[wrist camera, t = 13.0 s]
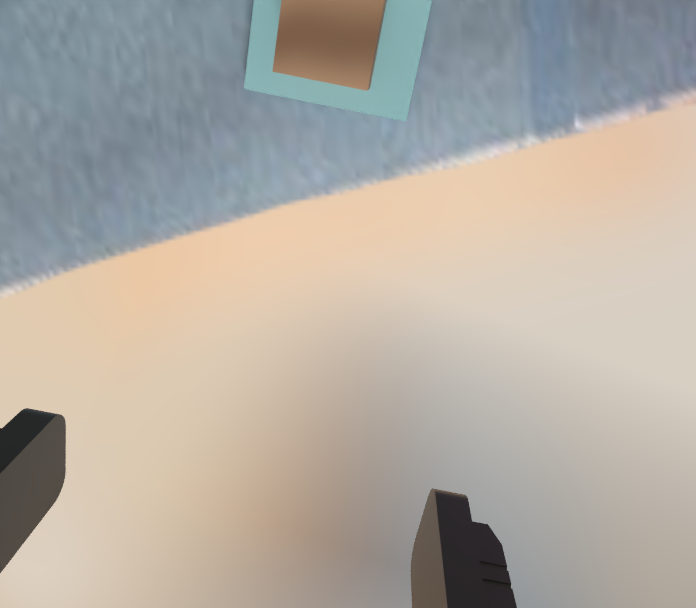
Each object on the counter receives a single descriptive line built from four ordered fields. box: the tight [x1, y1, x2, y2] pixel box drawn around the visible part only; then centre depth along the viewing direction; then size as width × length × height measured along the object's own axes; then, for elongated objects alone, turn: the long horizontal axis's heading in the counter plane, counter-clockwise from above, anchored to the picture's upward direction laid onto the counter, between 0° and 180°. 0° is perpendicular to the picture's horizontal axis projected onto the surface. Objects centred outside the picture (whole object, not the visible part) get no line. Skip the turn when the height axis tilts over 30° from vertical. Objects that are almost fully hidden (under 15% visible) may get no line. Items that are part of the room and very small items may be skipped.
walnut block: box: [272, 0, 387, 91], centre depth 32 cm, size 5×5×5 cm
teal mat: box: [244, 0, 432, 121], centre depth 34 cm, size 10×8×1 cm
